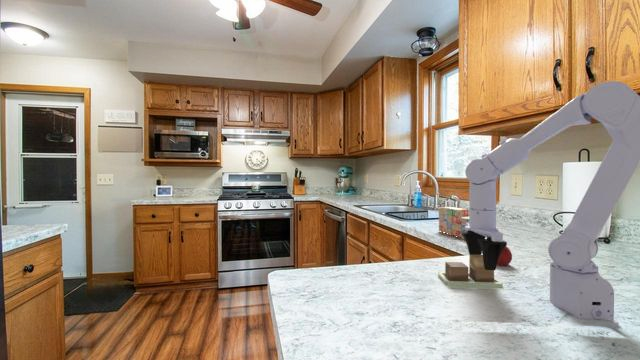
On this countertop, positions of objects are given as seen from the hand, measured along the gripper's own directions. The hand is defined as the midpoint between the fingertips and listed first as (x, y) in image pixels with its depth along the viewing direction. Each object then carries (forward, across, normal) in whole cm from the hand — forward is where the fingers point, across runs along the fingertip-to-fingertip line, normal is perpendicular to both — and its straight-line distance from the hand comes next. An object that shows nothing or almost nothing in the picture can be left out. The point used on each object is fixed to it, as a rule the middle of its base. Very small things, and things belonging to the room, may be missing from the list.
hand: (482, 264), depth 71 cm
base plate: (+5, 0, -3) cm, 6 cm away
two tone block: (+4, 0, 0) cm, 4 cm away
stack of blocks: (+6, -60, +18) cm, 63 cm away
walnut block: (+4, 0, -6) cm, 7 cm away
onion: (+6, -15, +12) cm, 20 cm away
